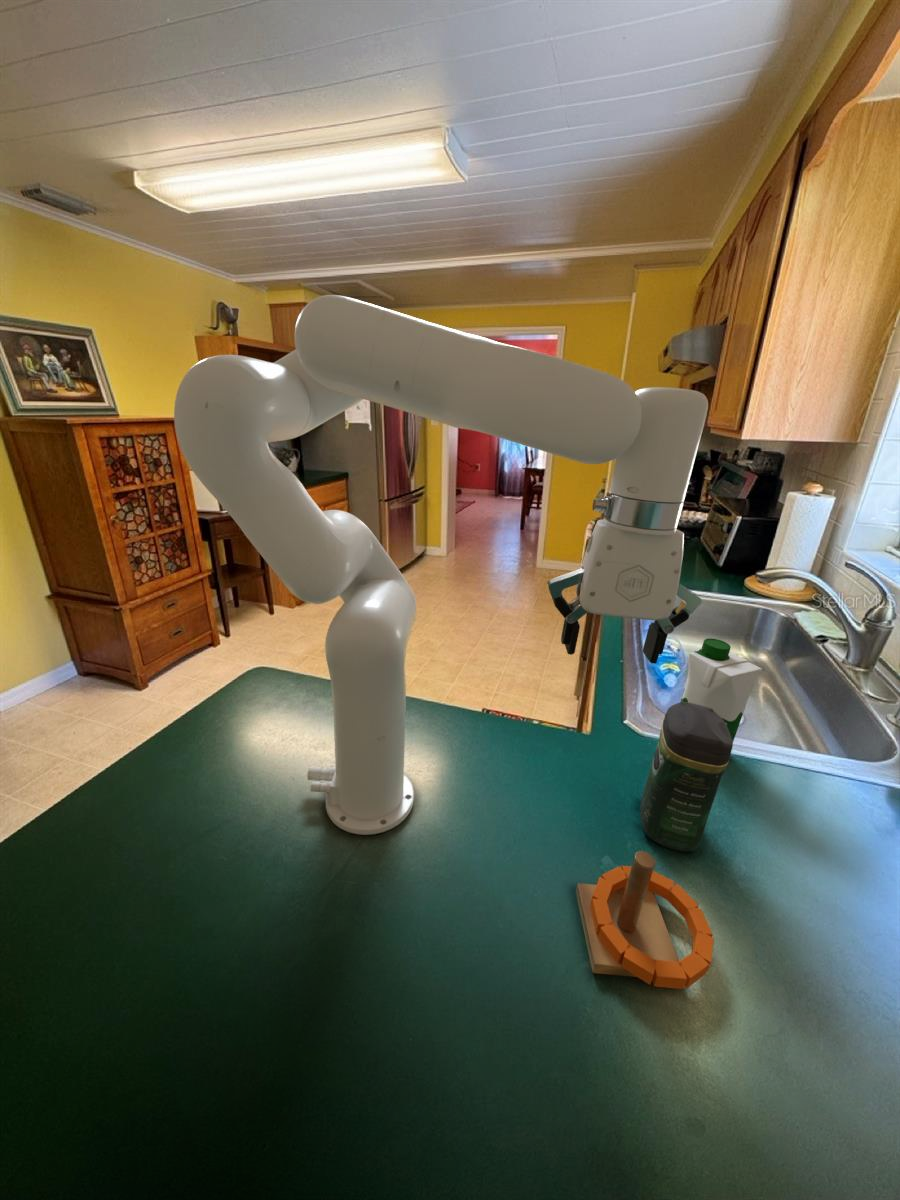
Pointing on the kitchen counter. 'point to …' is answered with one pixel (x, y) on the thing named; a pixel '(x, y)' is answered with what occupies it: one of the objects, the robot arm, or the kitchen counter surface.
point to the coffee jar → (685, 775)
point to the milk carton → (720, 681)
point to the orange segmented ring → (638, 961)
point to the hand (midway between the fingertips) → (608, 653)
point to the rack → (628, 919)
